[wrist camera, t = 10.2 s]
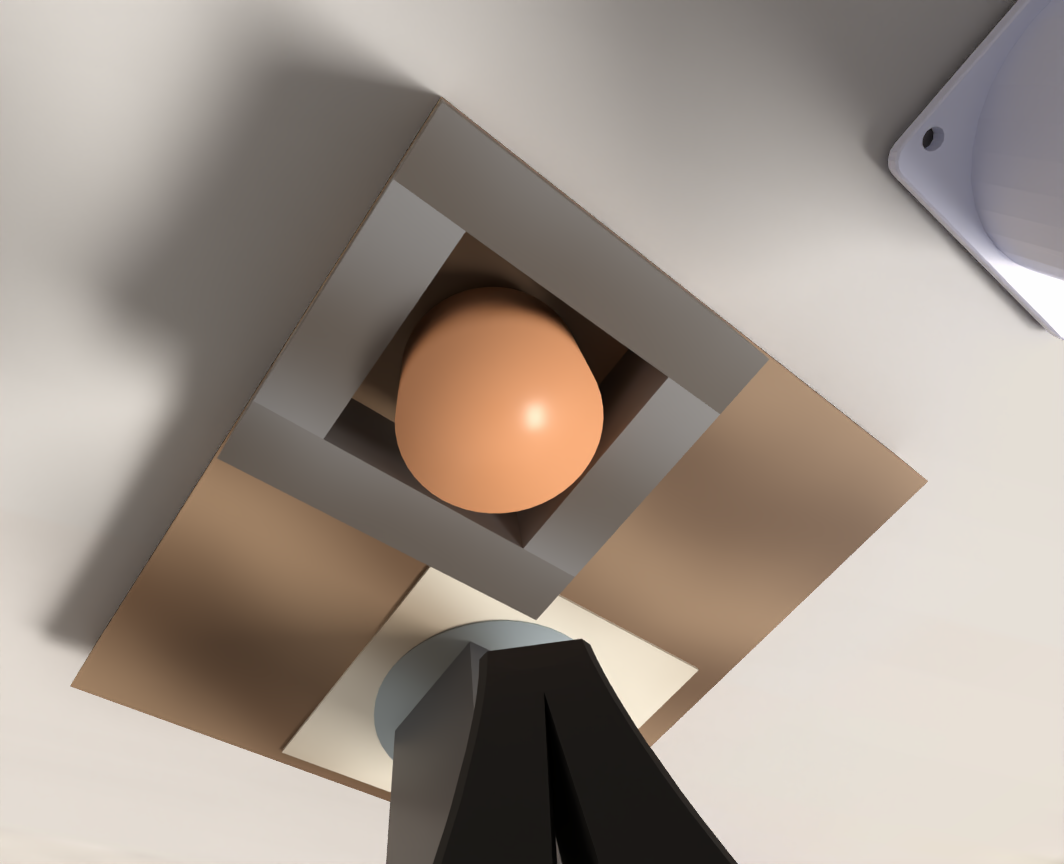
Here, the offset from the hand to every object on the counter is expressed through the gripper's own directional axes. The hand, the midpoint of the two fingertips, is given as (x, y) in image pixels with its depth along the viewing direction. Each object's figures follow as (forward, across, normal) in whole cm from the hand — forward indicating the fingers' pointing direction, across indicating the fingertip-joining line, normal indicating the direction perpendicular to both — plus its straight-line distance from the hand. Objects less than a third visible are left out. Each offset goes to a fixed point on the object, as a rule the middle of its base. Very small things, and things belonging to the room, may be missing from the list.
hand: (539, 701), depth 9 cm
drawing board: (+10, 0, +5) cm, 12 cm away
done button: (+8, 0, -1) cm, 8 cm away
